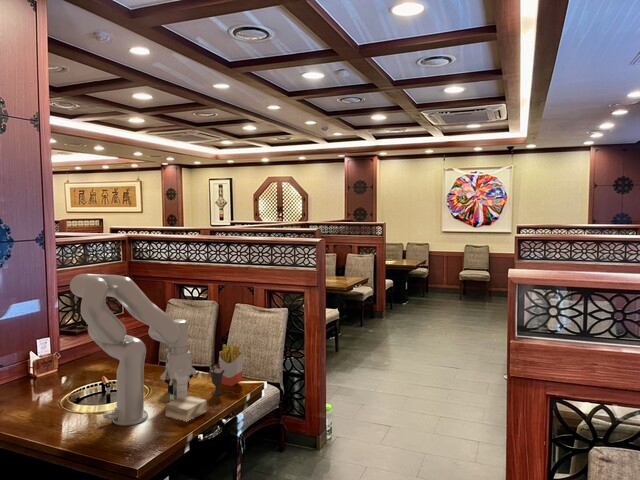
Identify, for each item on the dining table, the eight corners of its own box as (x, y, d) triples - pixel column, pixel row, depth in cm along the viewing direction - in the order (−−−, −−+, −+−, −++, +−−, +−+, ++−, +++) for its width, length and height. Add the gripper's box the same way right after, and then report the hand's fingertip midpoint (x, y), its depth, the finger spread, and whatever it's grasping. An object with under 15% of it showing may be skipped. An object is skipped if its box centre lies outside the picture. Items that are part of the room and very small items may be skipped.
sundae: (221, 396, 202) (221, 362, 201) (206, 395, 204) (206, 361, 203) (227, 391, 209) (227, 358, 208) (213, 389, 210) (213, 357, 209)
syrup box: (169, 401, 197) (169, 367, 196) (182, 397, 200) (182, 364, 200) (174, 405, 192) (174, 371, 191) (188, 402, 196) (188, 368, 195)
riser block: (186, 422, 178) (186, 410, 177) (165, 416, 183) (165, 404, 182) (206, 412, 187) (206, 400, 187) (185, 406, 192) (185, 394, 192)
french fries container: (236, 387, 213) (236, 348, 212) (217, 383, 218) (217, 345, 217) (242, 384, 217) (242, 346, 216) (223, 380, 222) (224, 343, 221)
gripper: (161, 355, 187) (161, 399, 188) (201, 348, 197) (201, 390, 198) (154, 350, 193) (154, 393, 194) (194, 344, 203) (194, 384, 204)
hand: (178, 391), depth 196 cm, fingers closed on syrup box, 5 cm apart
